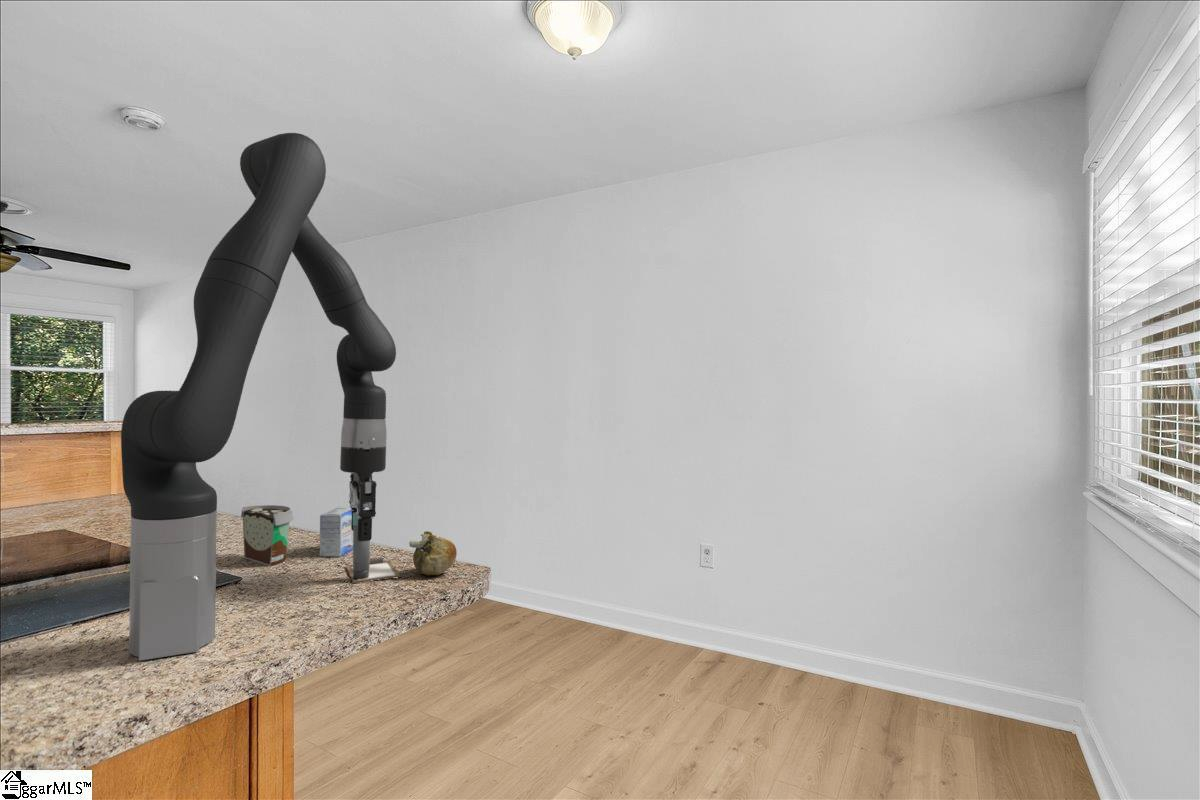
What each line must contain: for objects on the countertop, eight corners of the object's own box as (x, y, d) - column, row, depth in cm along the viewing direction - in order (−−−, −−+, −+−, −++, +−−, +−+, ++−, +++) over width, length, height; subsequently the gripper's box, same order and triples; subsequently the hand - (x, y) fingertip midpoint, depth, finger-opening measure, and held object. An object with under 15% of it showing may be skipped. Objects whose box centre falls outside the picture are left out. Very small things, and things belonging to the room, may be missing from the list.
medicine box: (340, 557, 121) (341, 514, 121) (318, 557, 121) (319, 514, 121) (357, 547, 129) (358, 507, 129) (336, 546, 129) (337, 506, 129)
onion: (447, 581, 107) (448, 536, 107) (404, 578, 108) (405, 534, 108) (461, 568, 115) (462, 527, 115) (421, 566, 116) (422, 525, 116)
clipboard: (400, 577, 109) (400, 571, 109) (353, 583, 105) (353, 577, 105) (389, 562, 118) (389, 556, 118) (345, 567, 114) (345, 561, 114)
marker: (371, 578, 107) (372, 513, 107) (353, 580, 105) (354, 515, 105) (368, 573, 109) (369, 510, 109) (350, 575, 108) (352, 511, 108)
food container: (305, 560, 118) (306, 509, 118) (275, 567, 113) (275, 514, 113) (271, 550, 125) (271, 502, 125) (240, 557, 120) (241, 506, 120)
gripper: (336, 441, 111) (334, 529, 111) (345, 447, 99) (342, 546, 99) (379, 441, 115) (376, 526, 115) (393, 447, 102) (390, 542, 102)
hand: (360, 535), depth 107 cm, fingers open, 8 cm apart
